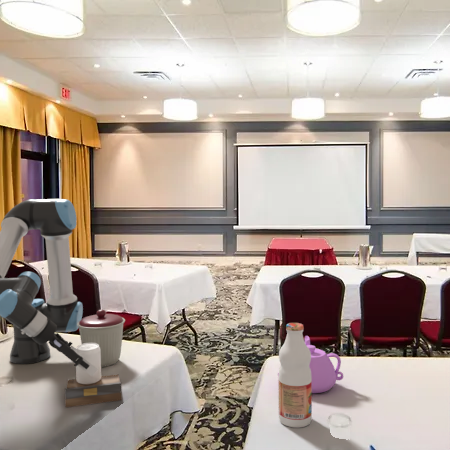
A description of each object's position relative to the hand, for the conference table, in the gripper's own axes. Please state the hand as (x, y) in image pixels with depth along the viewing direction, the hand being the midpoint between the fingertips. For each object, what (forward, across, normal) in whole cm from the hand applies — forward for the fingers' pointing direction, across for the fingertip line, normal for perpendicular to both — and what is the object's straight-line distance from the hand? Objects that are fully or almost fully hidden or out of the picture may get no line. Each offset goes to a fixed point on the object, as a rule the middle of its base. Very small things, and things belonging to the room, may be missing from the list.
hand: (88, 365), depth 155 cm
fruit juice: (+38, +52, +25) cm, 69 cm away
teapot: (+53, +34, +40) cm, 75 cm away
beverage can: (+5, -4, -4) cm, 7 cm away
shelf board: (+7, +1, -6) cm, 9 cm away
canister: (+15, -26, +2) cm, 30 cm away
